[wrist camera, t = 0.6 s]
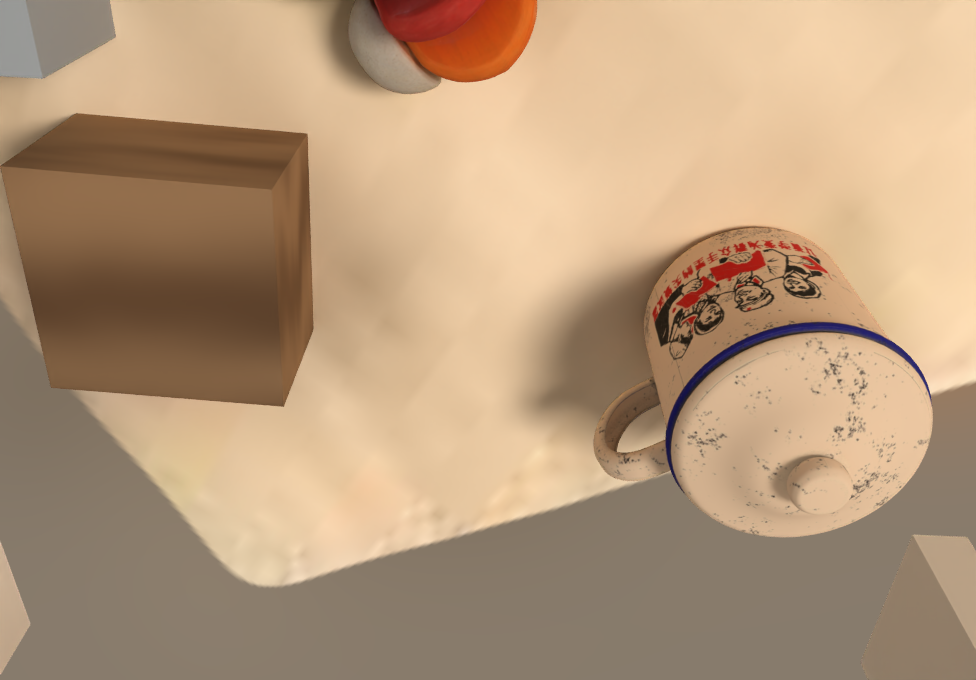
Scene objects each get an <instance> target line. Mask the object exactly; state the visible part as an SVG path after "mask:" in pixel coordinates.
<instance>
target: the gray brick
mask: <svg viewBox="0 0 976 680" xmlns="http://www.w3.org/2000/svg"><path fill="white" fill-rule="evenodd" d="M115 37H116V34H115V29H114V23H113V17H112V11H111V5H110V0H0V76H6V77H24V78H41V79H43V78H45V77H47V76H48V75H50V74H52V73H54V72H55V71H57V70H59V69H61V68H62V67H64V66H66V65H68V64H69V63H71V62H73V61H75V60H76V59H78V58H80V57H82V56H83V55H85V54H87V53H89V52H90V51H92V50H94V49H96V48H97V47H99V46H101V45H103V44H105V43H106V42H108V41H110V40H112V39H113V38H115Z"/></svg>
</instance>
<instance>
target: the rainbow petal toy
mask: <svg viewBox="0 0 976 680" xmlns="http://www.w3.org/2000/svg"><path fill="white" fill-rule="evenodd" d="M536 15H537V0H355V2H354V5H353V7H352V10H351V14H350V18H349V25H348V35H349V42H350V45H351V48H352V51H353V53H354V55H355V57H356V59H357V60H358V62H359V64H360V65H361V66H362V68H363V69H364V70H365V72H366V73H367V74H368V75H369V76H370V77H371V78H372V79H373V80H374V81H375V82H376V83H377V84H379V85H380V86H381V87H383V88H385V89H387V90H390V91H393V92H397V93H402V94H415V93H422V92H426V91H428V90H431V89H433V88H435V87H437V86H438V85H439V84H440V82H441V77H442V78H445V79H448V80H452V81H456V82H476V81H482V80H486V79H489V78H492V77H495V76H497V75H499V74H502V73H504V72H506V71H507V70H508V69H509V68H510V67H511V66H512V65H513V64H514V63H515V62H516V60H517V59H518V58H519V57H520V55H521V54H522V52H523V50H524V49H525V47H526V45H527V43H528V41H529V39H530V36H531V34H532V31H533V28H534V24H535V20H536Z"/></svg>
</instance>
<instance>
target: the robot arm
mask: <svg viewBox="0 0 976 680" xmlns="http://www.w3.org/2000/svg"><path fill="white" fill-rule="evenodd" d="M29 626H30V621H29V618H28V616H27V613H26V611H25V607H24V605H23V602H22V599H21V596H20V594H19V591H18V588H17V586H16V583H15V580H14V577H13V575H12V572H11V569H10V566H9V564H8V561H7V558H6V555H5V553H4V550H3V547H2V544H1V542H0V675H1V673H2V671H3V670H4V668H5V666H6V665H7V663H8V661H9V660H10V658H11V656H12V654H13V653H14V651H15V649H16V648H17V646H18V644H19V643H20V641H21V639H22V638H23V636H24V634H25V632H26V630H27V629H28V627H29ZM861 664H862V667H863V669H864V672H865V674H866V677H867V679H868V680H976V551H975V549H974V548H973V546H972V544H971V543H970V541H969V540H968V538H967V537H953V536H931V535H912V537H911V540H910V542H909V545H908V547H907V550H906V552H905V555H904V557H903V559H902V562H901V565H900V567H899V569H898V572H897V574H896V577H895V579H894V581H893V584H892V586H891V589H890V592H889V594H888V596H887V599H886V601H885V604H884V606H883V608H882V611H881V613H880V616H879V618H878V621H877V623H876V626H875V628H874V630H873V633H872V635H871V638H870V640H869V643H868V645H867V648H866V650H865V653H864V655H863V657H862V660H861Z"/></svg>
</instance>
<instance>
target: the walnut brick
mask: <svg viewBox="0 0 976 680" xmlns="http://www.w3.org/2000/svg"><path fill="white" fill-rule="evenodd" d="M0 168H1V172H2V176H3V181H4V185H5V189H6V194H7V198H8V202H9V207H10V211H11V215H12V220H13V224H14V229H15V233H16V237H17V242H18V246H19V250H20V255H21V259H22V263H23V268H24V272H25V276H26V281H27V285H28V290H29V294H30V298H31V303H32V307H33V311H34V316H35V320H36V324H37V329H38V333H39V337H40V342H41V346H42V351H43V355H44V359H45V364H46V368H47V372H48V377H49V381H50V385H51V388H61V389H73V390H86V391H98V392H110V393H123V394H135V395H147V396H160V397H172V398H184V399H197V400H209V401H221V402H234V403H246V404H258V405H271V406H283V407H284V404H285V402H286V399H287V397H288V394H289V391H290V389H291V386H292V384H293V381H294V378H295V376H296V373H297V371H298V368H299V366H300V363H301V360H302V358H303V355H304V353H305V350H306V347H307V345H308V342H309V340H310V337H311V334H312V332H313V301H312V268H311V235H310V201H309V168H308V135H307V134H305V133H293V132H282V131H271V130H259V129H248V128H237V127H225V126H214V125H203V124H191V123H180V122H168V121H157V120H146V119H134V118H123V117H112V116H100V115H89V114H78V113H76V114H75V115H73V116H72V117H71V118H69V119H68V120H66V121H65V122H63V123H62V124H60V125H59V126H58V127H56V128H55V129H53V130H52V131H50V132H49V133H47V134H46V135H45V136H43V137H42V138H40V139H39V140H37V141H36V142H34V143H33V144H32V145H30V146H29V147H27V148H26V149H24V150H23V151H21V152H20V153H19V154H17V155H16V156H14V157H13V158H11V159H10V160H9V161H7V162H6V163H4V164H3V165H1V166H0Z"/></svg>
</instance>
